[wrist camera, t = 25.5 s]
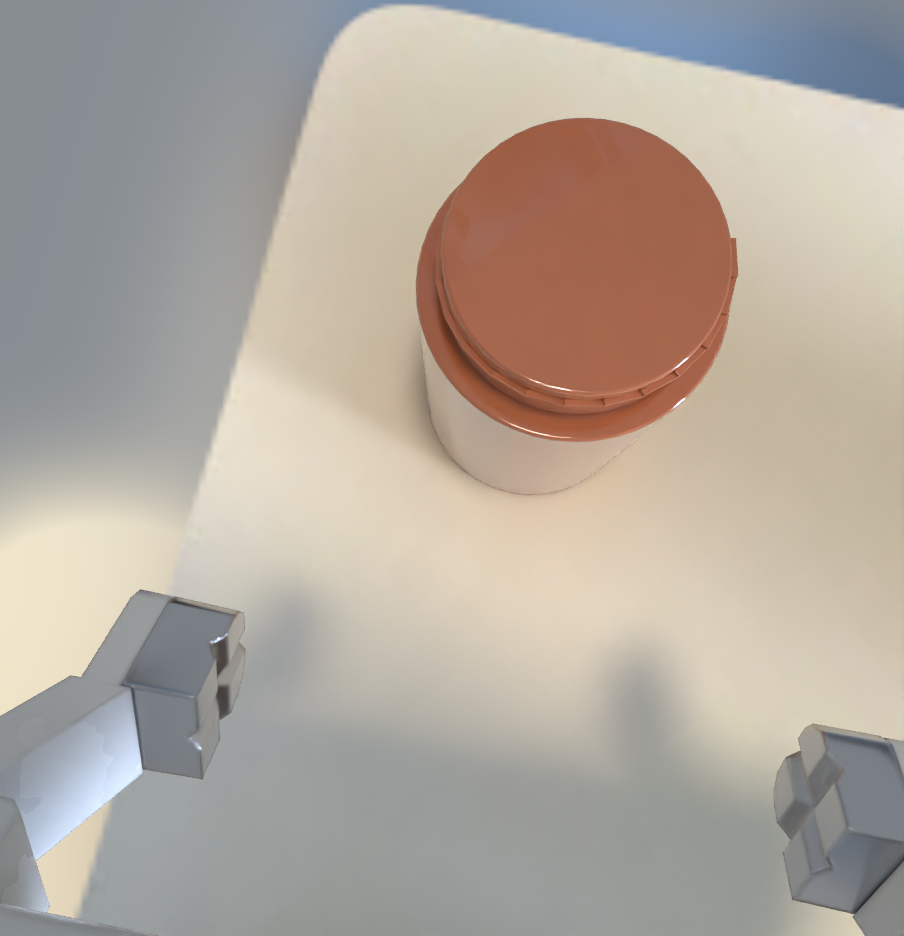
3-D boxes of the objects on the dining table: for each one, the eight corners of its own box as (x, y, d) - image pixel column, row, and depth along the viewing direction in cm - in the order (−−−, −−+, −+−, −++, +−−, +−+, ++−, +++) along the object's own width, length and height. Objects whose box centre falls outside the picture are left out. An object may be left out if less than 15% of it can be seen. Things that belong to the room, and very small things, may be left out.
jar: (426, 493, 24) (407, 422, 14) (430, 295, 25) (415, 86, 15) (632, 496, 24) (770, 427, 14) (629, 298, 25) (756, 92, 15)
